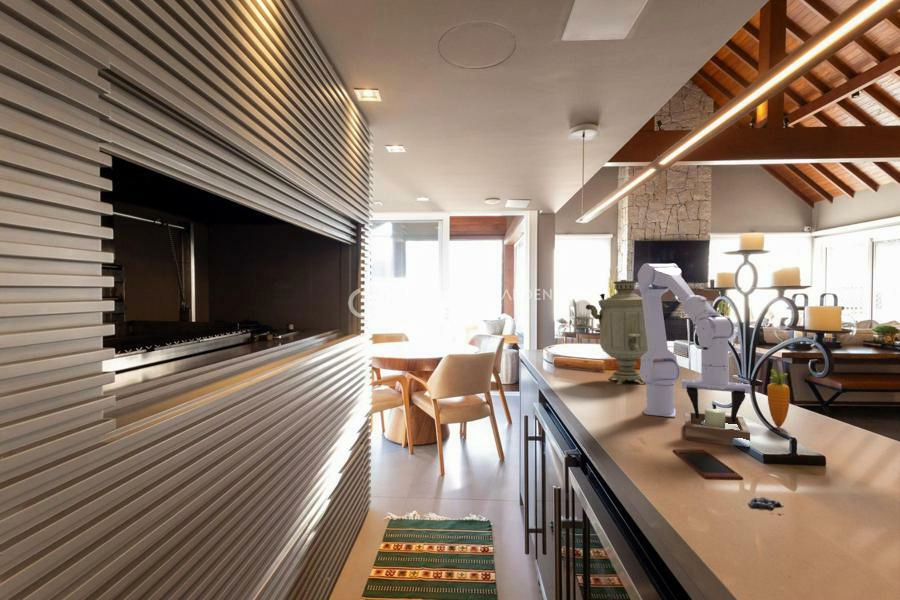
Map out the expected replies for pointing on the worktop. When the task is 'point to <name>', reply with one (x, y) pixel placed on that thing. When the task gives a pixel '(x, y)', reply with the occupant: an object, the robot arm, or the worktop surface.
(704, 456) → the smartphone
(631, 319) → the samovar
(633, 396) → the worktop surface
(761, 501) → the blueberries
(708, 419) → the green cylinder
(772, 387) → the carrot
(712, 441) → the walnut tray
